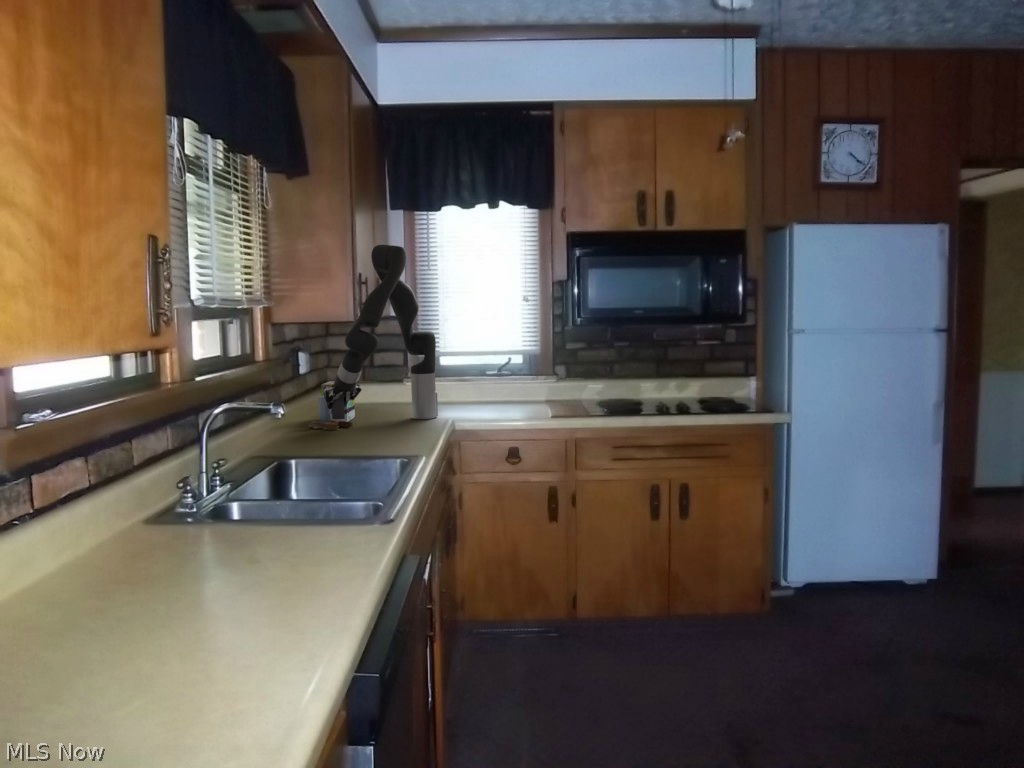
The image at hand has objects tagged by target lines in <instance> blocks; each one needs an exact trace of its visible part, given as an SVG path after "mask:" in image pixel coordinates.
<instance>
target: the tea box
mask: <svg viewBox="0 0 1024 768" xmlns="http://www.w3.org/2000/svg"><path fill="white" fill-rule="evenodd" d="M334 381H335V380H333V381H332V380H331V381H327V382H325V383H322V384H320V386H321V387H320V390H321V391H320V394H321V395H320V396H324V387H327V388H330V387H332V385H333V384H334ZM350 393H351V392H350ZM330 394H331V393H330ZM330 394H329V396H330ZM353 395H354V394H353ZM355 399H356V398H355ZM355 399H354V400H349V401H348V403H347V405H346V406H345V419H332V409H331V419H332V420H337V421H348V422H351V420H353V419H355V418H354V417H356V412H355V411H356V410H355V409H356V407H355V406H356V405H355V404H356V403H355V402H356V400H355Z"/></svg>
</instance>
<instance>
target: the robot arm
mask: <svg viewBox="0 0 1024 768" xmlns="http://www.w3.org/2000/svg"><path fill="white" fill-rule="evenodd" d="M407 262H408V254H407V251H406V249H405V248H404V247H402V246H399V245H392V244H378V245H376V246H375V245H374V247H373V248H372V250H371V263H372V266H373V268H374V270H375V273H376V275H377V276H378V279H379V280H380V283H379V284H378V285H377V286H376V287H375V288H374V289H373V290H372V291H371V292H370V293H369V294H368V295H367V297H366V298H365V300H364V302H363V305H362V308H361V310H360V313H359V315H358V318H357V319H356V322H355V323H354V324H353V326H352V327H351V328H350V330H349V331H348V333H347V334H346V336H345V338H344V344H345V345H346V346H345V347H347V348H348V350H347V351H346V352H345V354H344V357H343V358H342V362H341V363H340V365H339V367H338V370H337V373H336V375H335V377H334V380H333V381H334V384H333V385H332V387H330V388H327V387H324V398H325V400H326V402H327V407H328V408H329V409H332V406H333V404H334V401H335V400H336V399H338V398H339V396H344V408H345V406H346V405H347V403H348V401H349V400H354V399H356V398H357V397H358V396H359V394H360V393H361V392H362V388H361V385H360V384H359V383H358V382H359V379H360V377H361V375H362V370H363V368H364V365H365V363H366V361H367V360H368V359H369V358H370V357H371V356H372V355H373V354H374V352H376V350H377V348H378V347H379V338H378V337H377V336H376V335H375V334H373V333H371V332H367V331H365V330H363V328H368V329H369V328H370V329H377V328H378V327H379V326H380V322H381V320H382V317H383V314H384V311H385V308H386V306H387V303H388V301H389V303H390V306H391V308H392V311H393V313H394V315H395V318H396V320H397V322H398V325H399V329H400V332H401V335H402V338H403V339H402V340H403V343H404V345H405V346H404V347H405V349H406V351H407V352H408V354H409V355H411V356H424V357H423V360H422V361H420V362H418V363H416V364H412V365H411V366H410V387H411V390H410V391H411V416H412V419H415V420H427V419H428V420H430V419H435V417H436V418H437V416H439V412H438V411H439V409H438V408H439V407H438V405H439V403H438V392H437V391H436V389H437V388H436V344H437V343H436V336H435V333H434V332H433V331H431V330H418V331H417V330H415V329H413V324H414V321H415V319H416V317H417V315H418V312H419V304H418V301H417V298H416V294H415V293H414V291H413V289H412V288H411V287H410V286H409V285H408V284H407V283H406V282H404V280H403V279H402V278H401V277H402V275H403V273H404V271H405V268H406V266H407ZM350 392H351V393H350ZM330 393H331V394H330ZM329 394H330V396H329ZM353 394H354V395H353ZM332 397H333V398H332Z"/></svg>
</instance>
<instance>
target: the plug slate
mask: <svg viewBox="0 0 1024 768" xmlns="http://www.w3.org/2000/svg"><path fill="white" fill-rule="evenodd" d="M317 402H318V421H319V422H324V423H329V422H332V419H331V409H329V408H328V407H327V402H326V400H325V398H324V396H321V395H320V396H317Z"/></svg>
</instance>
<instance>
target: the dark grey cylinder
mask: <svg viewBox="0 0 1024 768" xmlns="http://www.w3.org/2000/svg"><path fill="white" fill-rule="evenodd" d="M332 398H333V397H332ZM332 419H345V408H344V396H339V398H338V399H336V400H335V401H334V404H333V406H332Z"/></svg>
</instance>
